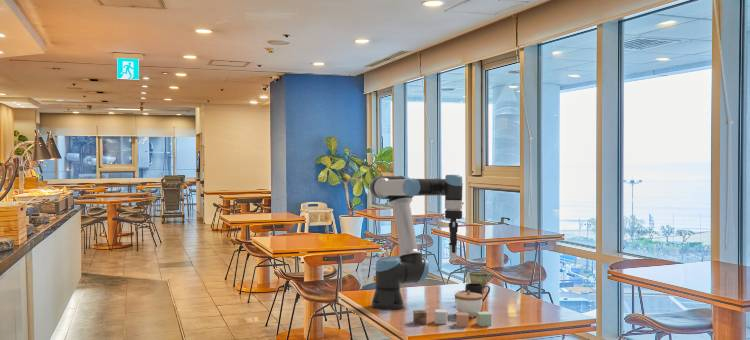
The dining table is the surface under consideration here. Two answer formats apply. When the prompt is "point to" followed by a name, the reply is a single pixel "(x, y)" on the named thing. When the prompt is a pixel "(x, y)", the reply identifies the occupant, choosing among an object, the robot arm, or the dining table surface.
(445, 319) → the grey block
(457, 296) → the lidded bowl
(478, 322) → the sage block
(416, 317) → the walnut block
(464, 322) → the terracotta block
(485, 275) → the ceramic cup
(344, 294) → the dining table surface
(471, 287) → the mug
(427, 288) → the dining table surface
